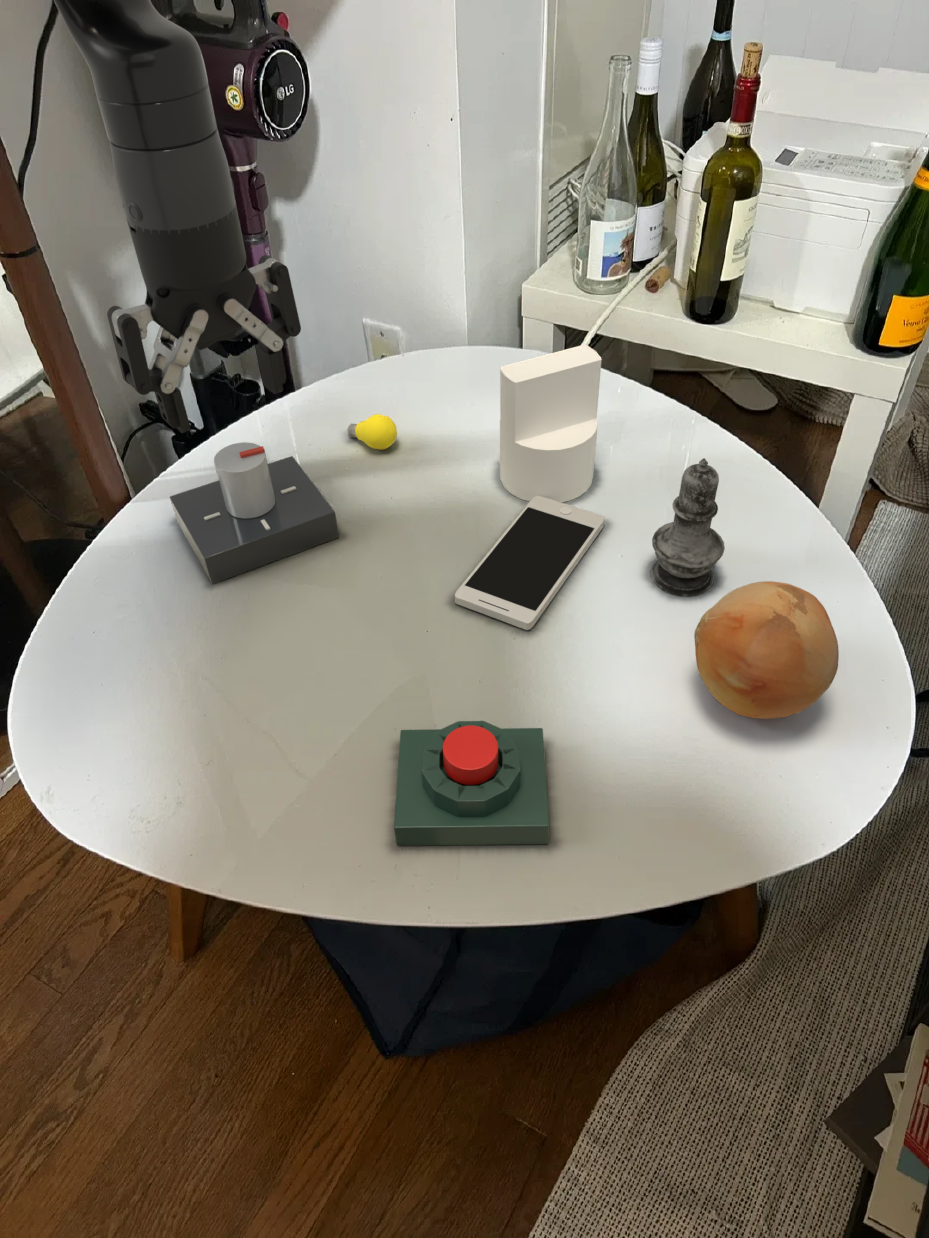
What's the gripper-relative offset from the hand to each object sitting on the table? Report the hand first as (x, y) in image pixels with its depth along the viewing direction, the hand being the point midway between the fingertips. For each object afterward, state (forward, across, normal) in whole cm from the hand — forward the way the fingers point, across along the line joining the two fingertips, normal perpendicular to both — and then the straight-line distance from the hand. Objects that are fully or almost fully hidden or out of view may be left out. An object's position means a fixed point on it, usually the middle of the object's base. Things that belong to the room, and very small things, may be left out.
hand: (228, 408), depth 75 cm
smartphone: (+13, -16, +20) cm, 28 cm away
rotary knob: (+10, 0, 0) cm, 10 cm away
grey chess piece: (+13, -24, +29) cm, 40 cm away
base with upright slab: (+13, -26, +11) cm, 31 cm away
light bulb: (+13, -16, -5) cm, 21 cm away
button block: (+13, +4, +35) cm, 37 cm away
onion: (+13, -18, +41) cm, 47 cm away
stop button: (+10, +4, +35) cm, 36 cm away
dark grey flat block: (+13, 0, 0) cm, 13 cm away
